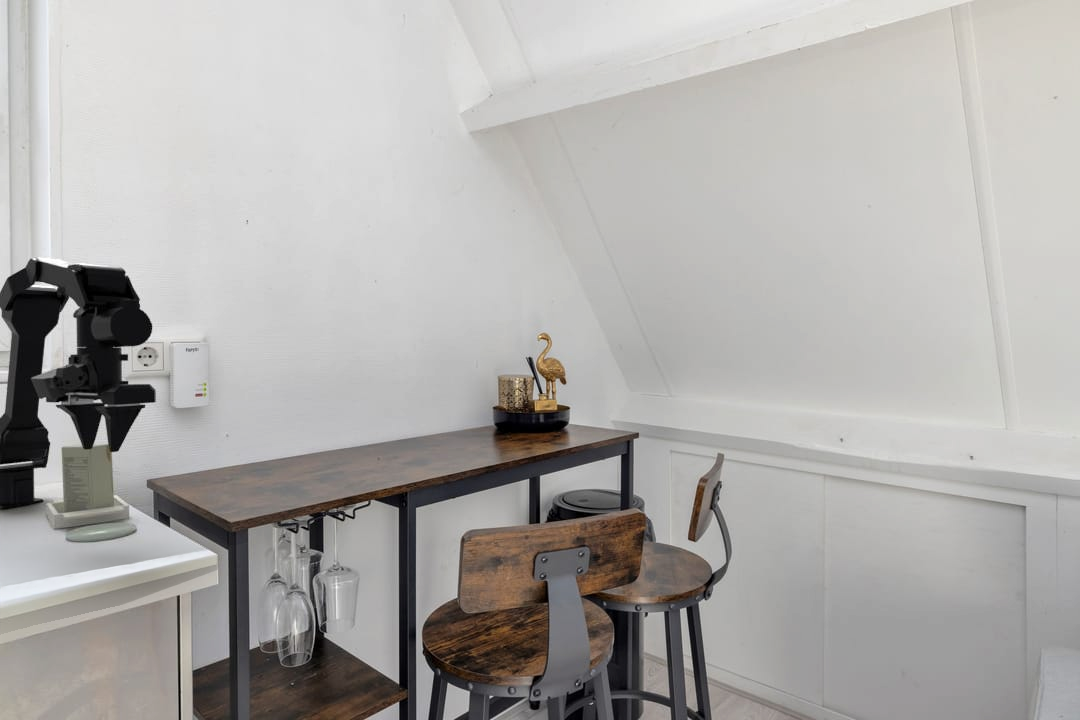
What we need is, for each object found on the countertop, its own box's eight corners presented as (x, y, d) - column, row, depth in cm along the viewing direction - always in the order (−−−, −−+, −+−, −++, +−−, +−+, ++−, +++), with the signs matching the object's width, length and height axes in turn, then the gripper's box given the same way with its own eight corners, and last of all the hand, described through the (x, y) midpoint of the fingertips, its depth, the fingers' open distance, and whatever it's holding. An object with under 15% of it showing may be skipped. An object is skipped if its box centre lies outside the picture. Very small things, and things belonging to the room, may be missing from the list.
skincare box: (115, 515, 116) (114, 443, 116) (93, 521, 112) (92, 446, 112) (84, 513, 118) (83, 442, 118) (61, 519, 113) (60, 446, 113)
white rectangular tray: (44, 513, 118) (44, 500, 118) (113, 504, 125) (113, 492, 125) (56, 532, 105) (56, 518, 105) (132, 521, 111) (132, 508, 111)
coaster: (62, 533, 104) (62, 529, 104) (130, 523, 110) (130, 519, 110) (70, 545, 97) (70, 541, 97) (141, 534, 103) (141, 530, 103)
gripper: (6, 348, 101) (7, 454, 101) (78, 346, 92) (79, 461, 92) (85, 348, 111) (86, 445, 111) (157, 346, 102) (158, 451, 102)
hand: (100, 450), depth 104 cm, fingers open, 6 cm apart
